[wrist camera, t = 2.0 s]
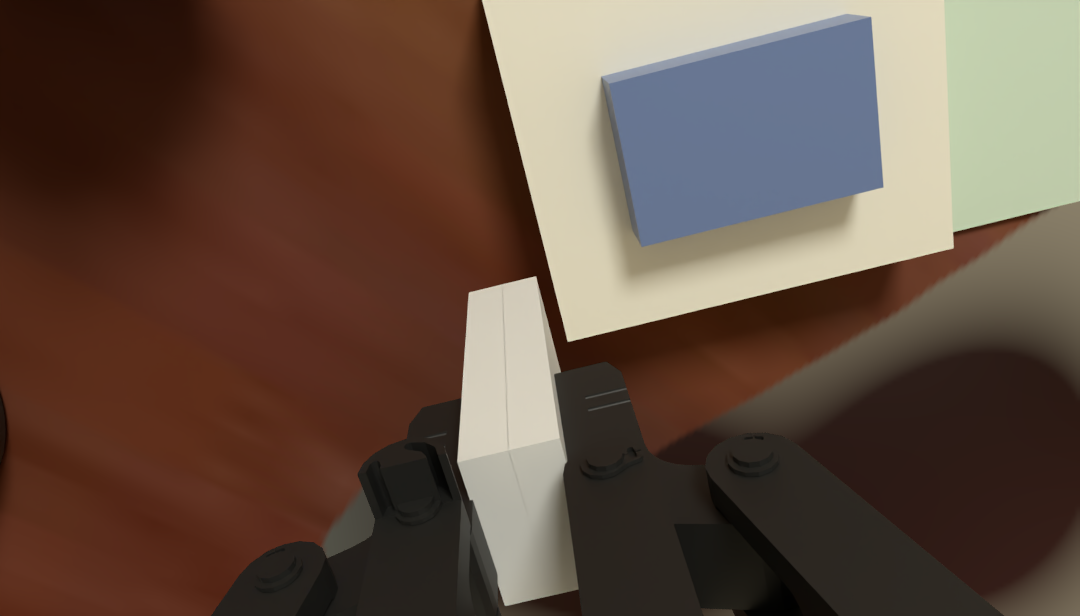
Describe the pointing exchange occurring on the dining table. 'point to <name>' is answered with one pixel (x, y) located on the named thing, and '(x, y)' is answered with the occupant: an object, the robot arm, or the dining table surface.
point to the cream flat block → (736, 250)
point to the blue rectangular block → (747, 128)
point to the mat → (1012, 107)
